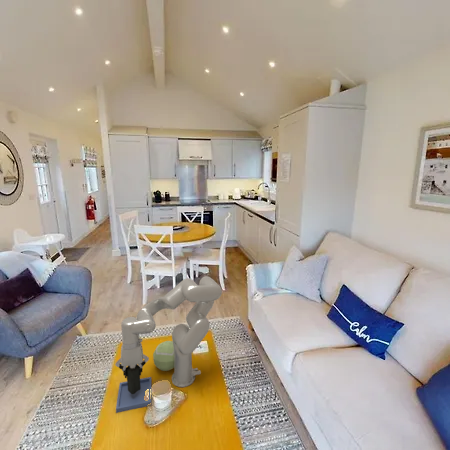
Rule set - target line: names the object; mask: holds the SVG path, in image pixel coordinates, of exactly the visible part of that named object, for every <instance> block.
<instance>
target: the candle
mask: <svg viewBox="0 0 450 450" xmlns="http://www.w3.org/2000/svg"><path fill="white" fill-rule="evenodd" d="M126 367H127V368H126V371H127V378H126V382H127V385H128V391H129V392H130V393H131V394H135V393H136V392H137V391H139V390H140V389H141V385H140V379H141V375H139V365H138V364H136V365H130V366H126Z"/></svg>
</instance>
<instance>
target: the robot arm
mask: <svg viewBox="0 0 450 450" xmlns="http://www.w3.org/2000/svg"><path fill="white" fill-rule="evenodd" d="M222 294H223V290H222V287H221V286H220V284H218V283H217V282H216V280H214V279H213V278H212V277H210V276H209V275H205V276H203V277H201V278H200V280H199V285H198V284H197V283H196V282H195V281H194V279H191V278H188V277H187V278H184V279H183V280H181V281H180V282H179V283H178V284H176V285H175V286H174V287H173V288H172V289H171V290H170V291H168V292H167V293H166V294H164V295H163V296H160V297H157V298H155V299H152V300H151V301H149V302H148V303H146V304H145V305H144V306H143V307H142V308H141V309H140V310H139V311H138V313H137V314H136V317H134V316H127V317H126V318H124V319H123V320H122V321H121V323H120V324H121V325H120V326H121V339H122V344H121V347H120V358H119V359H118V360H117V361H116V362H115V364H114V365H115V366H116V367H117V368H118V369H120V370H121V371H122V373H123V376H124V378H125V379H127V371H126V368H127V367H128V366H130V365H136V364H137V365H138V366H139V375H140V376H142V373H143V367H144V366H145V365H146V364H147V362H148V361H149V360H150V359H149V357H148V355H146V354H144V351H143V345H142V342H143V338H140V335H148V334H150V333H152V332H154V331H155V329H156V321H155V319H154V316H155V314H158V312H160V311H161V310H165V309H167V310H168V309H169V310H176V309H177V308H178V307H179V306H180V305H181V304H182V303H184V302H185V301H186V300H187V301H188V302H191V303H195V304H194V305H193V306H192V307H191V309H190V310H189V311H188V313H187V314H186V317H185V321H186V323H187V324H184V323H179V324H176V326H175V327H174V328H173V329H172V333H171V341H173V348H174V368H173V369H174V372H173V373H172V375H171V381H172V384H173V385H174V386H176V387H179V388H186V387H189V386H191V385H192V384H193V383H194V381H195V379H196V376H198V375H201V373H202V372H201V369H200V370H199V369H198V367H196V368H193V365H192V364H193V363H192V361H193V358H192V356H193V355H192V353H193V352H194V351H196V349H197V348H198V346H199V345H200V344H201V343H202V342H203V340H204V338H205V337H206V335H207V334H208V333H209V330H210V328H211V327H210V326H211V325H210V321H209V319H208V318H207V316H208V314H209V313H210V311H211V310H212V309H213V306H214V303H215V301H217V300H219V299H220V297H221V296H222Z"/></svg>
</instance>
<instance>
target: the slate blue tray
mask: <svg viewBox="0 0 450 450" xmlns="http://www.w3.org/2000/svg"><path fill="white" fill-rule="evenodd" d="M140 385H141V389H140V390H139V391H137V392H136V393H135V394H131V393H130V392H129V391H128V385H127V381H122V382H119V387H118V393H117V398H116V404H115V405H116V406H115V413H116V414H118V413H121V412H128V411H131V410H136V409H141V408H145V407H148V406H147V405H148V404H150V403H151V404H152V398H151V399H150V389H151V390H152V376H149V377H142V378H140ZM147 389H149V400H148V401H145V400H144V396H145V391H146V390H147Z"/></svg>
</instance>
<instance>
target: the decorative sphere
mask: <svg viewBox="0 0 450 450" xmlns="http://www.w3.org/2000/svg"><path fill="white" fill-rule="evenodd" d="M152 358H153V359H152V360H153V364H154V365H155V367H156V368H158V369H159V370H160V371H162V372H163V371H164V372H165V371H166V372H167V371H168V372H169V371H170V370H172V369H174V348H173V340H166V341H162V342H161V343H158V345H157V346H156V348H155V350H154V352H153V355H152Z"/></svg>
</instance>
